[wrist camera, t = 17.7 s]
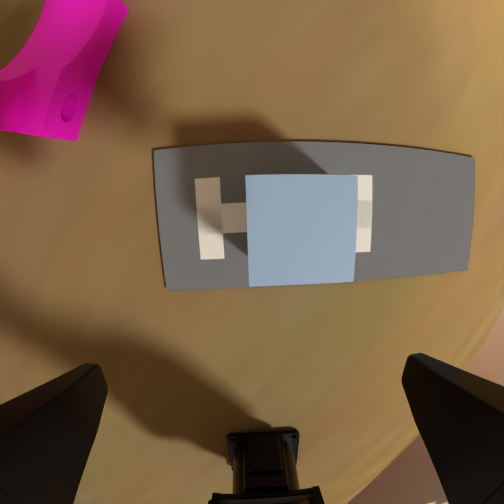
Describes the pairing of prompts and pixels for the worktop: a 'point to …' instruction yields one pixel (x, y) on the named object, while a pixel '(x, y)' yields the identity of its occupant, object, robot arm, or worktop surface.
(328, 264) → the slate blue cube
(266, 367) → the worktop surface
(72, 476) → the robot arm
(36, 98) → the toy block
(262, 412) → the worktop surface
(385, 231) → the letter mat
